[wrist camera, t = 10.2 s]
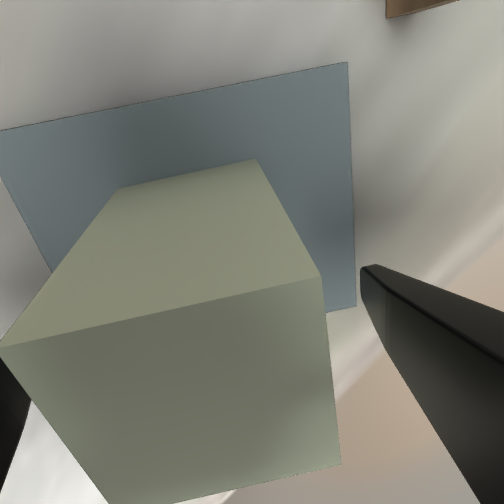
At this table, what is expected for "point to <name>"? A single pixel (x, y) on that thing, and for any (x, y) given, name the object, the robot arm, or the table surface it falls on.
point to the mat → (199, 161)
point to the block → (183, 342)
